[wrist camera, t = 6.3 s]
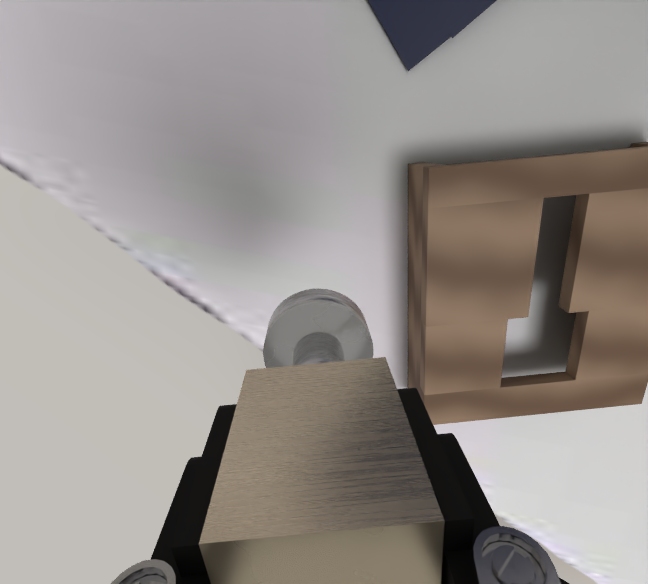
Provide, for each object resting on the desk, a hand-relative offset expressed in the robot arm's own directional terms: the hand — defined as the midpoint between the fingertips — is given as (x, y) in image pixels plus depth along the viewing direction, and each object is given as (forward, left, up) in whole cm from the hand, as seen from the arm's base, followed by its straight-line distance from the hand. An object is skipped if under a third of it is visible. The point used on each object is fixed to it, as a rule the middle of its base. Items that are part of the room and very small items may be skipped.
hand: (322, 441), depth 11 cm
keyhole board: (+4, +17, -21) cm, 27 cm away
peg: (0, 0, -6) cm, 6 cm away
